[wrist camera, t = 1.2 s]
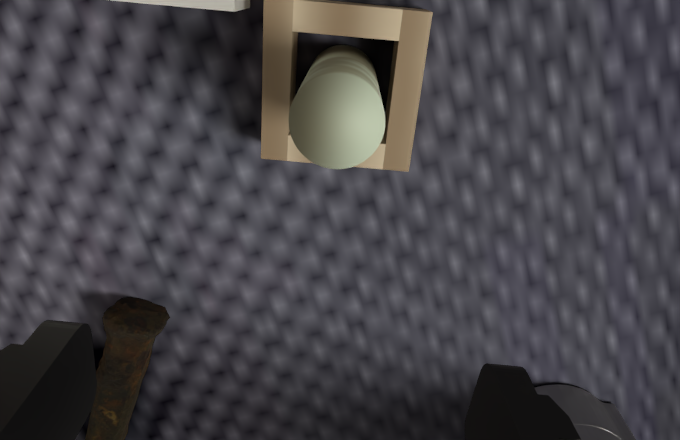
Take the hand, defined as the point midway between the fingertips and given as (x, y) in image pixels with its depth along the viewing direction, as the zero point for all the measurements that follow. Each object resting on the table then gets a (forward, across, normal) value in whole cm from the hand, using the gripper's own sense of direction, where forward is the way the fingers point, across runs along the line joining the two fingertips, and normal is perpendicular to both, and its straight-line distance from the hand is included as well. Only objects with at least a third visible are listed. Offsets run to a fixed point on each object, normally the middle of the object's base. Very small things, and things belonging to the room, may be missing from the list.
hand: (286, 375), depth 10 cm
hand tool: (+23, +13, +24) cm, 36 cm away
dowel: (+22, -1, -2) cm, 23 cm away
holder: (+22, -1, -2) cm, 23 cm away
